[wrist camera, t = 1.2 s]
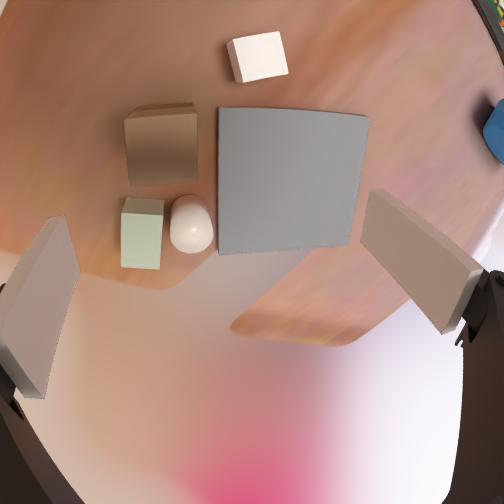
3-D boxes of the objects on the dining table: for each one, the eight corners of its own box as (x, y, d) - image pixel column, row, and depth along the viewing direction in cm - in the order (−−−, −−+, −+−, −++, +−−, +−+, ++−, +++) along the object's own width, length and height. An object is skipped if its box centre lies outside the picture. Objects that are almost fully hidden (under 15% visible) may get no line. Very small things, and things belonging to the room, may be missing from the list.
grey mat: (218, 106, 28) (219, 108, 27) (364, 115, 31) (369, 117, 30) (217, 250, 36) (219, 255, 36) (344, 240, 40) (347, 244, 39)
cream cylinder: (169, 196, 32) (168, 216, 28) (207, 193, 33) (212, 213, 28) (171, 230, 34) (172, 255, 30) (208, 227, 35) (213, 251, 31)
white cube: (225, 43, 25) (232, 39, 21) (266, 35, 25) (279, 31, 22) (235, 81, 27) (243, 82, 24) (275, 73, 27) (288, 73, 24)
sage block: (126, 196, 31) (121, 212, 27) (164, 199, 32) (163, 215, 29) (125, 246, 34) (121, 267, 30) (160, 249, 35) (159, 269, 32)
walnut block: (139, 106, 26) (123, 119, 19) (191, 102, 27) (197, 113, 20) (141, 155, 29) (129, 187, 21) (192, 152, 30) (197, 181, 22)
